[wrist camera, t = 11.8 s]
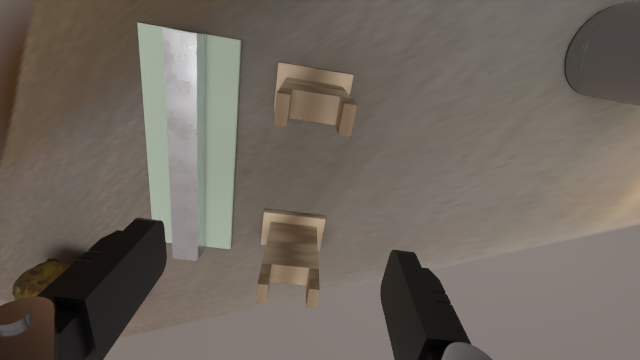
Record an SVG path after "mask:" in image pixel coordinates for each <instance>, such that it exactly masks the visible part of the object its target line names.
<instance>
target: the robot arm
mask: <svg viewBox="0 0 640 360" xmlns="http://www.w3.org/2000/svg"><path fill="white" fill-rule="evenodd" d="M565 66H566V76H567V79H568V82H569V83H570V85H571V86H572V88H574V89H575V90H576V91H577V92H579V93H581V94H583V95H587V96H592V97H598V98H603V99H608V100H613V101H618V102H623V103H628V104H633V105H639V106H640V2H633V3H625V4H619V5H615V6H611V7H609V8H607V9H605V10H603V11H601V12H599V13H598V14H596V15H595V16H594V17H592V18H591V19H590V20H589V21H588V22H587V23H586V24H585V25H584V26H583V27H582V28H581V29H580V31H579V32H578V33H577V35H576V36H575V38H574V40H573V41H572V43H571V45H570V48H569V51H568V54H567V58H566V64H565ZM166 259H167V255H166V242H165V229H164V223H163V221H161V220H153V219H145V218H136V219H135V220H134V221H133V222H132V223H131V224H129V225H128V226H127V227H126V228H125V229H124V230H123V231H119V230H117V231H115V232H113V233H111V234H109V235H107V236H105V237H103V238H101V239H100V240H99V241H98V242H97V243H96V244H94V245H93V246H92V247H91V248H90V249H89V251H88V252H85V253H84V254H83V255H82V256H81V257H80V258H79V260H78V261H75V262H74V263H73V264H72V265H71V266H70V267H69V268H67V269H66V270H65V271H64V272H63V273H62V274H61V275H60V276H58V277H57V278H56V279H55V280H54V281H53V282H52V283H50V284H49V285H48V286H47V287H46V288H45V289H44V290H43V291H41V292H40V293H39V294H38V295H37V296H36V297H26V298H21V299H17V300H14V301H11V302H8V303H6V304H3V305H1V306H0V360H103V359H104V357H105V356H106V355H107V353H108V352H109V350H110V349H111V347H112V346H113V345H114V343H115V341H116V340H117V339H118V337H119V336H120V334H121V333H122V331H123V330H124V329H125V327H126V326H127V324H128V323H129V321H130V320H131V318H132V317H133V316H134V314H135V313H136V311H137V310H138V308H139V307H140V305H141V304H142V303H143V301H144V300H145V298H146V297H147V295H148V294H149V292H150V291H151V289H152V288H153V287H154V285H155V284H156V282H157V281H158V279H159V278H160V276H161V275H162V273H163V271H164V268H165V265H166ZM381 302H382V307H383V311H384V315H385V320H386V324H387V328H388V333H389V337H390V341H391V346H392V350H393V354H394V358H395V360H492V359H491V358H490V357H489V356H488V355H487V354H486V353H484V352H483V351H482V350H480V349H479V348H477V347H475V346H473V345H471V343H470V341H469V339H468V337H467V335H466V333H465V331H464V329H463V327H462V325H461V323H460V320H459V318H458V316H457V314H456V312H455V310H454V308H453V306H452V305H450V300H449V298H448V296H447V295H446V294H445V290H444V288H443V286H442V284H441V282H440V280H439V279H438V278H437V277H436V276H435V275H434V274H433V273H432V272H431V271H430V270H429V269H428V268H422V267H421V265H420V263H419V260H418V258H417V256H416V254H415V253H414V252H408V251H399V250H392V251H391V253H390V256H389V259H388V263H387V266H386V270H385V273H384V276H383V280H382V284H381Z"/></svg>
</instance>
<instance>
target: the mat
mask: <svg viewBox="0 0 640 360" xmlns="http://www.w3.org/2000/svg"><path fill="white" fill-rule="evenodd" d="M137 24H138V37H139V51H140V64H141V78H142V91H143V105H144V118H145V132H146V145H147V159H148V172H149V186H150V199H151V213H152V219H153V220H161V221H163V223H164V229H165V242H168V243H172V226H171V204H170V182H169V160H168V138H167V116H166V95H165V73H164V51H163V29H162V28H167V27H161V26H155V25H149V24H143V23H137ZM171 29H173V28H171ZM178 30H179V29H178ZM241 46H242V40H237V39H231V38H225V37H219V36H214V35H208V34H207V48H206V196H205V246H206V247H215V248H224V249H231V246H232V226H233V206H234V186H235V166H236V146H237V126H238V106H239V86H240V66H241Z"/></svg>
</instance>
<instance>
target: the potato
mask: <svg viewBox="0 0 640 360" xmlns="http://www.w3.org/2000/svg"><path fill="white" fill-rule="evenodd" d="M47 260H48V261H46V262H44V263H41V264H38V265H37V266H36V267H34V268H32V269H29V270H27V271H26V272H24V273H23V274H22V275H21V276H20V277H19V278H18V279H17V280H16V282H15V283H14V285H13V295H14V297H15V300H17V299H21V298H26V297H36V296H37V295H38V294H39V293H40V292H41V291H43V290H44V289H45V288H46V287H47V286H48V285H49V284H50V283H52V282H53V281H54V280H55V279H56V278H57V277H58V276H60V275H61V274H62V273H63V272H64V271H65V270H66V269H67V268H69V267H70V266H71V265H70V264H66V263H62V262H58V260H56V259H47Z"/></svg>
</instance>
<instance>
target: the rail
mask: <svg viewBox="0 0 640 360" xmlns="http://www.w3.org/2000/svg"><path fill="white" fill-rule="evenodd" d="M162 29H163V51H164V73H165V95H166V116H167V138H168V160H169V182H170V204H171V226H172V248H173V258H174V259H184V260H194V261H198V259H199V257H200V256H201V254H202V252H203V250H204V248H205V196H206V48H207V34H202V33H196V32H190V31H184V30H178V29H171V28H162Z"/></svg>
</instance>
